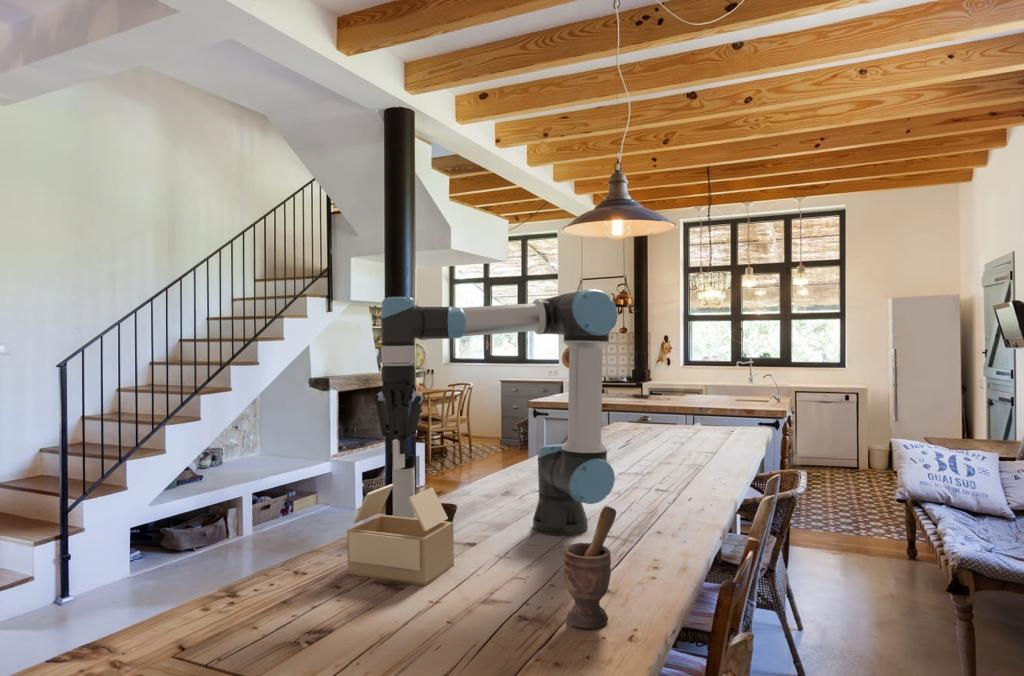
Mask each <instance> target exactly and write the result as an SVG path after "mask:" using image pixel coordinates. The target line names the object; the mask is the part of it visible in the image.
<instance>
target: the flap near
mask: <svg viewBox="0 0 1024 676" xmlns="http://www.w3.org/2000/svg"><path fill="white" fill-rule="evenodd" d="M408 499H409V501H410V503H411V505H412V507H413V510H414V512H415V517H416V518H417V519H418V520H419V522H420V524H421V526H422V528H423V530H424V532H425V531H427V530H429V529H430V528H432V527H434V526H436V525H437V524H439V523H441V522H443V521H445V520H446V519H448V517H447V515H446V513H445V511H444V509H443V507H442V505H441V503H442V502H441V501H440V499H439V497H438V495H437V494H436V492H435V489H434V488H433V487H432V486H431V487H429V488H427V489H426V490H425V489H424V490H422V491H421V492H418V493H415V495H413V496H411V497H409V498H408Z"/></svg>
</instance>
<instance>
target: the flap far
mask: <svg viewBox="0 0 1024 676" xmlns="http://www.w3.org/2000/svg"><path fill="white" fill-rule="evenodd" d="M392 490H393V483H391V484H388V485H386V486H382V487H380V488H378V489H375V490H372V491H370V492H367V493H366V495H365V497H364V499H363V501H362V504H361V505H360V508H358V511H357V514H356V515H355V518H354V520H353V521H352V523H353V524H355V525H356V524H357V523H359V522H361V521H362V522H363V521H364V520H366V519H369V518H370V517H373V516H375V515H378V514H380V513H382V512H381V511H382V510H383V507H384V506H385V503H386V501H387V500H388V497H389V496H390V493H391V492H392Z"/></svg>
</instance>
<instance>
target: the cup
mask: <svg viewBox="0 0 1024 676" xmlns="http://www.w3.org/2000/svg"><path fill="white" fill-rule="evenodd" d="M440 503H441V505H442V507H443V509H444V511H445V513H446V515H447V517H448V519H446V520H445V522H453V523H454V518H455V515H456V513H457V510H458V505H456V504H454V503H449V502H447V503H446V502H440Z"/></svg>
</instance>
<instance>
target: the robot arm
mask: <svg viewBox="0 0 1024 676" xmlns="http://www.w3.org/2000/svg"><path fill="white" fill-rule="evenodd" d="M380 311H381V313H380V315H381V316H380V322H381V323H380V326H381V327H380V328H381V330H380V332H381V347H380V348H381V351H380V352H381V354H380V355H381V357H380V358H381V359H380V360H381V363H382V364H384V365H382V367H381V382H382V386H381V389H380V391H379V392H378V393H377V394H373V395H372V397H371V399H372V400H373V402H374V404H375V406H376V407H375V408H376V412H377V417H378V421H379V427H380V432H381V434H382V436H383V437H386V438H388V439H389V452H390V454H392V462H393V464H392V466H393V469H401V468H404V467H405V456H406V454H408V452H409V451H408V450H409V449H408V446H409V445H408V444H409V443H408V442H409V441H408V440H409V439H410V438H412V437H415V436H416V433H417V428H418V423H419V418H420V414H421V409H422V405H423V404H424V401H425V400H426V396H425V395H424V394H419V392H417V388H416V386H415V381H416V367H415V365H413V364H414V363H415V361H416V360H415V359H416V358H415V357H416V353H415V352H416V351H415V350H416V348H415V347H416V346H415V341H416V339H418V340H421V341H427V340H439V339H441V340H443V339H446V340H452V339H461V338H462V337H471V336H473V337H474V336H486V335H498V334H500V335H501V334H510V333H511V334H512V333H525V332H534V333H535V334H536V335H558V336H559V335H560V336H563V343H564V344H565V346H567V347H568V351H569V353H568V356H569V357H568V400H567V401H568V405H567V407H568V412H567V413H568V414H567V441H566V442H565V443H557V444H547V445H545V444H544V445H542V446H540V447H539V448H538V450H537V451H538V452H537V469H538V471H537V472H538V473H537V475H538V502H537V505H536V508H535V511H534V516H533V519H532V529H534V530H535V531H536V532H538V533H540V534H545V535H550V536H551V535H552V536H572V535H577V534H581V533H584V532H585V531H587V530H588V526H589V524H588V518H587V514H586V511H585V508H584V505H583V503H584V504H586V505H594V504H597V503H600V502H602V501H604V500H606V498H607V496H608V495H610V493H612V490H613V489H614V486H615V479H616V476H615V471H614V469H613V466H611V464H610V462H608V449H607V447H606V446H605V445H604V443H602V417H603V416H602V413H603V412H602V406H603V401H602V399H603V355H604V353H603V352H604V351H603V350H604V348H605V347H606V346H607V345H608V344H609V341H610V332H611V331H612V330H614V329H613V328H615V326H616V324H617V322H618V309H617V306H616V303H615V301H614V300H613V299H612V297H611V296H610V295H609V294H607V293H606V292H604V291H602V290H600V289H583V290H578V291H574V292H567V293H564V294H563V293H562V294H560V295H556V296H554V297H553V296H552V297H547V298H540V299H534V300H533V301H532V302H530V303H518V304H517V303H516V304H514V303H513V304H500V305H486V306H485V305H483V306H467V307H457V306H455V307H453V306H451V305H450V306H419V305H416V304H415V299H414V297H410V296H409V297H407V296H406V297H405V296H388V297H385V298H384V299H383V300H382V302H381V310H380ZM410 403H411V405H410ZM393 469H392V470H393Z"/></svg>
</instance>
